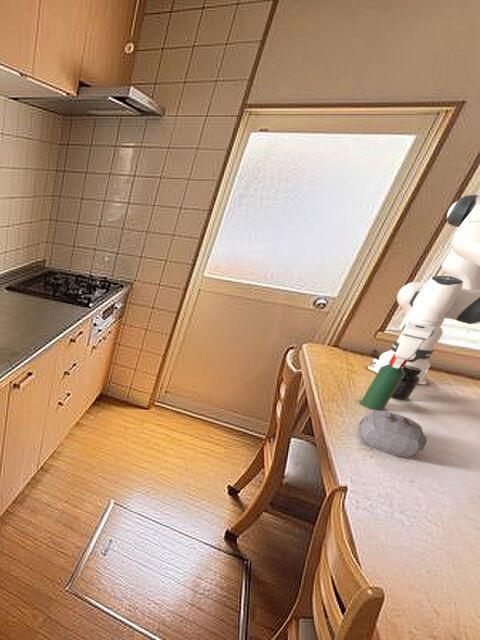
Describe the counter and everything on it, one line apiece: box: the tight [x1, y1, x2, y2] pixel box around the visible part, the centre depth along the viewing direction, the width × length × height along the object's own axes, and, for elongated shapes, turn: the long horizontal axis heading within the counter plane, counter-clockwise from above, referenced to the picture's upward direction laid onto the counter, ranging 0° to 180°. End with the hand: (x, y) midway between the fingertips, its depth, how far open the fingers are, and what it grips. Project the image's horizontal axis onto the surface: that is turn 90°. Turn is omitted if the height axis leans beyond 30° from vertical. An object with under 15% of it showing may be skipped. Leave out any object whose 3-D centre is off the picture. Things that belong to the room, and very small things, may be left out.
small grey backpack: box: [358, 410, 428, 458], centre depth 128 cm, size 15×8×20 cm
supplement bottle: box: [391, 365, 421, 401], centre depth 158 cm, size 7×7×12 cm
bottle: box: [360, 364, 405, 411], centre depth 147 cm, size 6×6×19 cm
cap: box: [389, 354, 408, 367], centre depth 143 cm, size 4×4×3 cm
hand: (396, 365), depth 143 cm, fingers open, 5 cm apart
